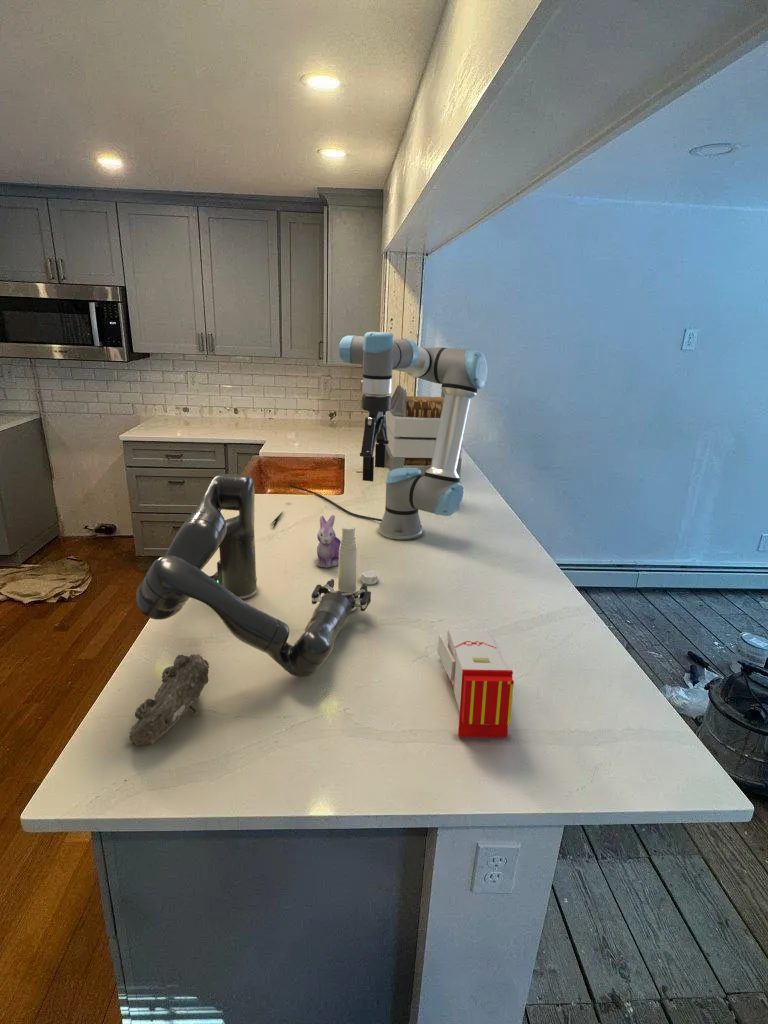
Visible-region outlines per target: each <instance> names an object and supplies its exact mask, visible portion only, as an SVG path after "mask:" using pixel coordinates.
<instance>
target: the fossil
mask: <svg viewBox="0 0 768 1024" xmlns="http://www.w3.org/2000/svg"><path fill="white" fill-rule="evenodd" d="M209 665H210V664H209V662H208V660H207V659H204V658H203V656H202V655H200V653H199V654H198V653H197V654H195V653H193V654H190V655H184V654H178V655H177V656H176V657H175V660H174V661H173V665H171V666H167V667H166V668H165V669H163V671H162V672H161V674H162V675H161V682H162V684H161V685H160V687H158V689H157V691H156V693H155V695H154V699H153V698H147V699H146V700H145V701H144V702H142V703H141V704H139V706H138V707H137V708H136V709H135V712H134V717H135V718H136V719H138V720H137V721H136V722H135V724H134V725H132V726H131V729H130V732H129V736H128V737H129V740H130V743H132V744H134V745H136V746H144V745H150V744H151V745H153V744H154V743H156V742H157V741H158V740H159V739H160V738H161V737H162V736H163V735H165V734H166V733H167V732H168V731H169V730H170V729H171V728H172V727H173V726H174V725H175V724H176V723H177V722H179V720H180V719H181V718H182V715H183V714H185V713H186V712H187V710H188V709H190V710H191V711H192V712H193V713H194V714H197V713H198V712H197V710H196V709H195V708H194V707H193V706H192V705H191V704H192V703H193V702H196V701H197V700H198V699H199V698H200V696H201V693H202V692H203V690H204V688H205V686H206V685H207V684H208V683H209V668H210V666H209Z"/></svg>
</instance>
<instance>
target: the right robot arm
mask: <svg viewBox="0 0 768 1024" xmlns="http://www.w3.org/2000/svg"><path fill="white" fill-rule="evenodd" d="M338 355H339V357H340V360H341V361H342V362H344V363H346V364H351V365H362V380H360V384H361V385H362V389H361V391H362V394H363V395H362V396H361V409H362V410H363V411H364V412H365V411H366V412H368V416H365V418H364V428H363V435H362V436H363V437H362V444H361V449H360V450H361V451H360V453H359V457H362V481H364V482H372V483H373V482H374V476H375V475H374V474H375V473H374V472H375V471H374V470H375V468H379V469H385V467H386V466H385V446H386V445H384V444H388V443H389V440H387V439H388V437H387V423H386V412H387V411H389V410H390V409H391V398H392V396H391V394H392V391H393V388H392V387H393V371H398V372H403V373H407V375H408V376H410V377H411V378H417V379H421V380H424V381H426V382H430V383H435V384H439V385H441V387H440V389H441V392H442V391H443V392H444V395H445V396H444V401H443V406H442V411H441V417H440V422H439V427H438V432H437V437H436V442H435V447H434V453H433V458H432V463H431V465H430V466H429V468H427V469H426V470H424V475H422V470H421V468H418V467H404V468H398V469H394V470H391V471H390V470H388V472H387V475H386V480H385V504H384V505H385V507H384V508H385V509H384V513H383V515H382V518H376V517H371V516H367V515H362V514H357V513H354V512H351V511H349V510H347V509H346V508H344V507H342V506H340V505H339V504H338V503H336V502H334V501H332V500H331V499H329V498H327V497H325V496H324V495H321V494H319V493H317V492H315V491H312V490H309V489H306V488H304V487H300V486H298V485H297V486H296V485H292V484H290V485H289V487H290V488H293V489H296V490H300V491H304V492H307V493H310V494H312V495H315V496H317V497H320V498H322V499H324V500H325V501H327V502H329V503H330V504H332V505H334V506H336V507H337V508H338V509H340V510H342V511H344V512H345V513H346V514H348V515H351V516H354V517H358V518H360V519H367V520H372V521H377V522H379V526H378V533H379V534H380V535H381V536H382V537H385V538H387V539H389V540H395V541H410V540H415V539H418V538H420V537H421V536H422V535H423V525H422V524H421V518H420V515H419V511H423V512H426V513H431V514H433V515H435V516H443V517H450V516H452V515H453V514H454V513H456V511H457V510H458V509H459V507H460V505H461V503H462V500H463V497H464V493H465V492H464V486H463V484H462V483H461V482H459V478H460V479H461V476H460V477H459V475H458V474H457V472H456V470H457V465H458V460H459V455H460V450H461V445H462V446H463V443H462V441H464V440H463V439H464V434H465V430H466V425H467V420H468V414H469V410H470V404H471V401H472V399H473V398H474V397H476V396H477V393H478V390H481V389H483V388H484V387H485V386H486V385H485V384H487V379H488V362H487V360H486V359H487V358H486V357H485V355H484V353H482V352H481V351H479V350H474V349H469V348H467V349H466V348H453V347H441V346H439V347H434V346H433V347H422V346H418V344H417V342H415V341H414V340H412V339H409V338H403V337H402V338H394V334H393V333H392V332H386V331H367V332H366V333H364V335H363V336H362V335H346V336H344V337H342V338H341V340H340V342H339V345H338Z"/></svg>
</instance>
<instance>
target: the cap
mask: <svg viewBox="0 0 768 1024" xmlns="http://www.w3.org/2000/svg"><path fill="white" fill-rule="evenodd" d="M360 581H361V583H362V584H363V583H365V584H366V586H368V585H369V586H370V585H375V584H376V583H377V582H378V573H377V572H376V571H374V570H365V571H362V573H361V580H360Z"/></svg>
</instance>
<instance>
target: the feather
mask: <svg viewBox="0 0 768 1024" xmlns="http://www.w3.org/2000/svg"><path fill="white" fill-rule="evenodd" d="M282 514H283V512H280V514H279V515H278V516H277V517H275V519H274V520H273V521H272V522H271V524H270V526H272V525H273V529H274V528H275V526H276V524H277V523H278V521H279V520H280V518H281V516H282Z"/></svg>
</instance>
